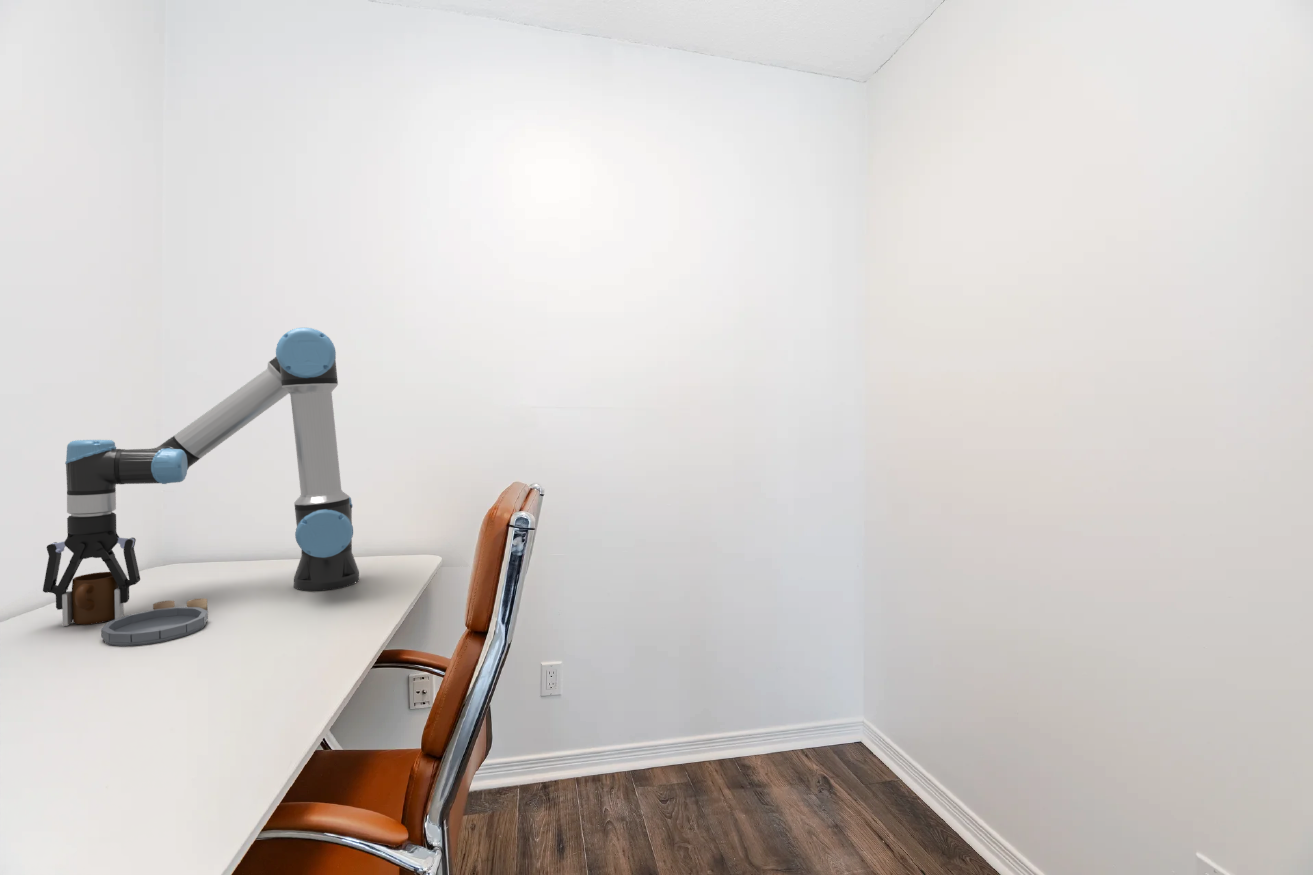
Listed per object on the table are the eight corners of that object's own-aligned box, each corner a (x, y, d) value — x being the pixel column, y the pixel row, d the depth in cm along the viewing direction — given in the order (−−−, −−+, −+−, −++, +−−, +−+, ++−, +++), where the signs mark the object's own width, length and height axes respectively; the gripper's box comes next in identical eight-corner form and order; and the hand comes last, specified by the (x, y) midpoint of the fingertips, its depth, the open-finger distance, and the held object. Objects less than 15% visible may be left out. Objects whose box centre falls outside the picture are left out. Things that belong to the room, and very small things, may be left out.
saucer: (213, 613, 134) (213, 602, 134) (198, 638, 120) (197, 626, 119) (118, 624, 126) (118, 613, 126) (89, 651, 112) (89, 639, 112)
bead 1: (176, 613, 134) (176, 599, 134) (172, 617, 131) (172, 604, 131) (155, 615, 133) (155, 601, 132) (151, 620, 129) (151, 606, 129)
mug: (103, 629, 123) (102, 584, 123) (54, 634, 120) (53, 587, 120) (126, 611, 134) (126, 570, 134) (82, 616, 131) (81, 573, 131)
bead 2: (208, 610, 136) (208, 597, 136) (205, 615, 133) (205, 602, 133) (188, 612, 134) (188, 599, 134) (185, 617, 131) (185, 604, 131)
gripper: (158, 508, 135) (159, 609, 136) (33, 513, 125) (35, 622, 126) (149, 513, 128) (150, 619, 129) (16, 519, 119) (19, 634, 119)
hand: (93, 620), depth 128 cm, fingers closed on mug, 8 cm apart
